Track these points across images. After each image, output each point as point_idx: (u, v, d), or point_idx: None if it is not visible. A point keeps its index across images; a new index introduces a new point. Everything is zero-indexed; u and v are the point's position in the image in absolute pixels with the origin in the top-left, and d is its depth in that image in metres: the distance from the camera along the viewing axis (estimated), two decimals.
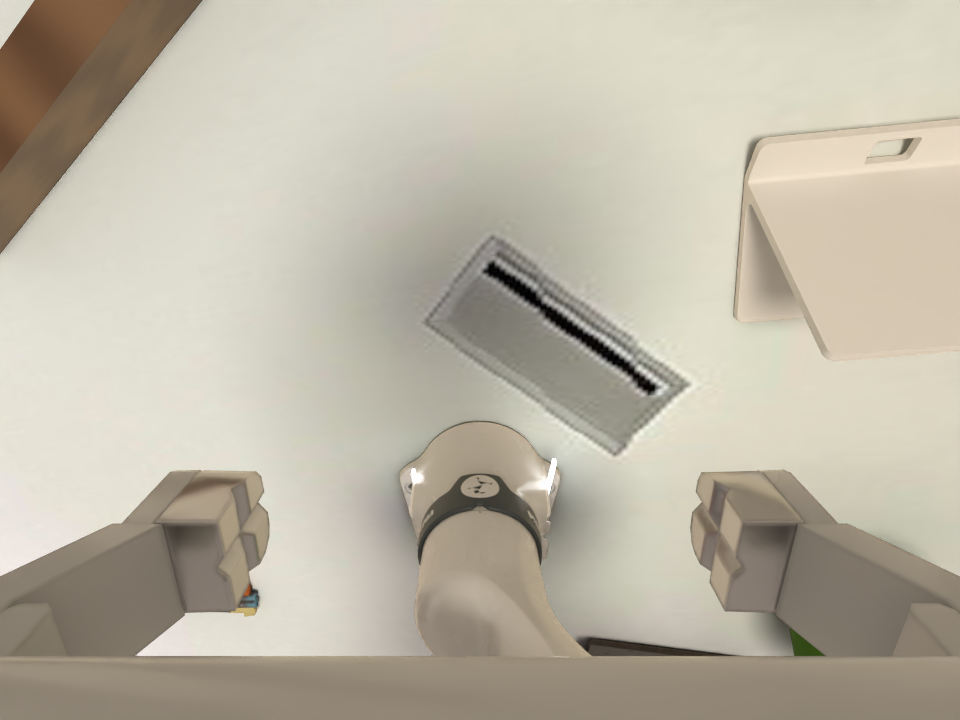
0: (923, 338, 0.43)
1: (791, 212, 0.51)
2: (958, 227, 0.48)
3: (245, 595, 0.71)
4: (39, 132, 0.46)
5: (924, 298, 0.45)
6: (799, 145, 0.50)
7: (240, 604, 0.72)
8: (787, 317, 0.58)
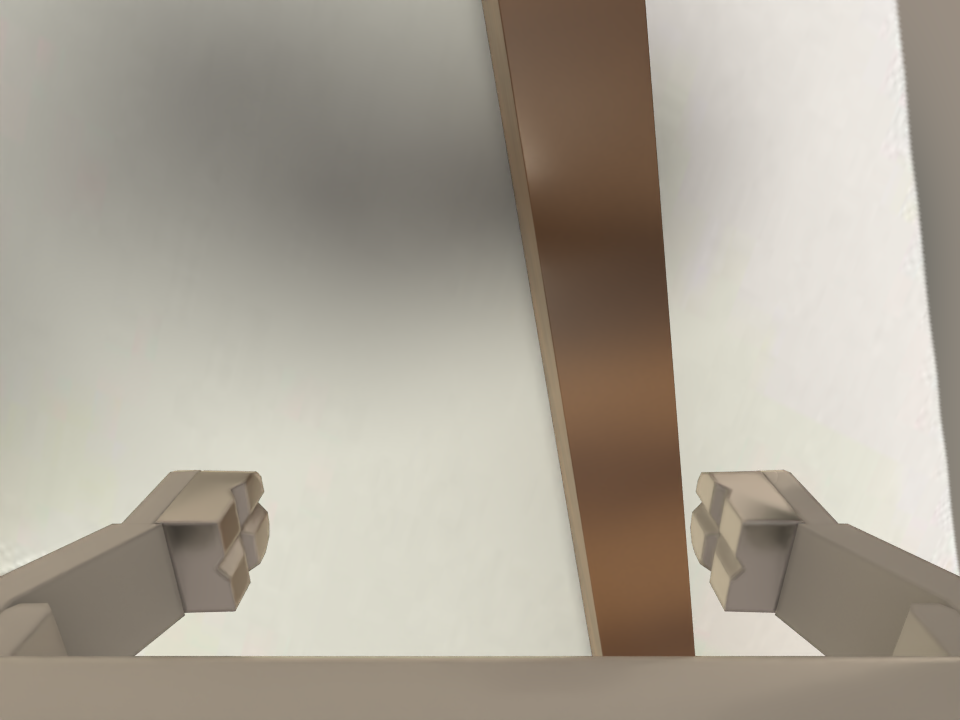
0: None
1: None
2: None
3: None
4: (554, 366, 0.24)
5: None
6: None
7: None
8: None
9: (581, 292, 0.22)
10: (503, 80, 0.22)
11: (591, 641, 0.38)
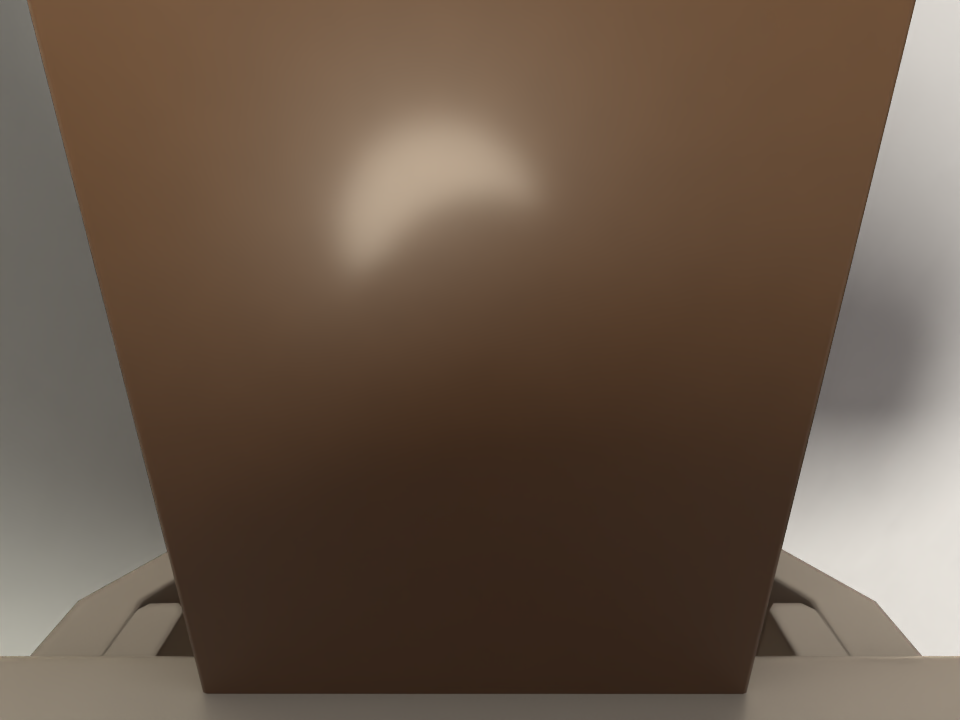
0: None
1: None
2: None
3: None
4: None
5: None
6: None
7: None
8: None
9: None
10: None
11: None
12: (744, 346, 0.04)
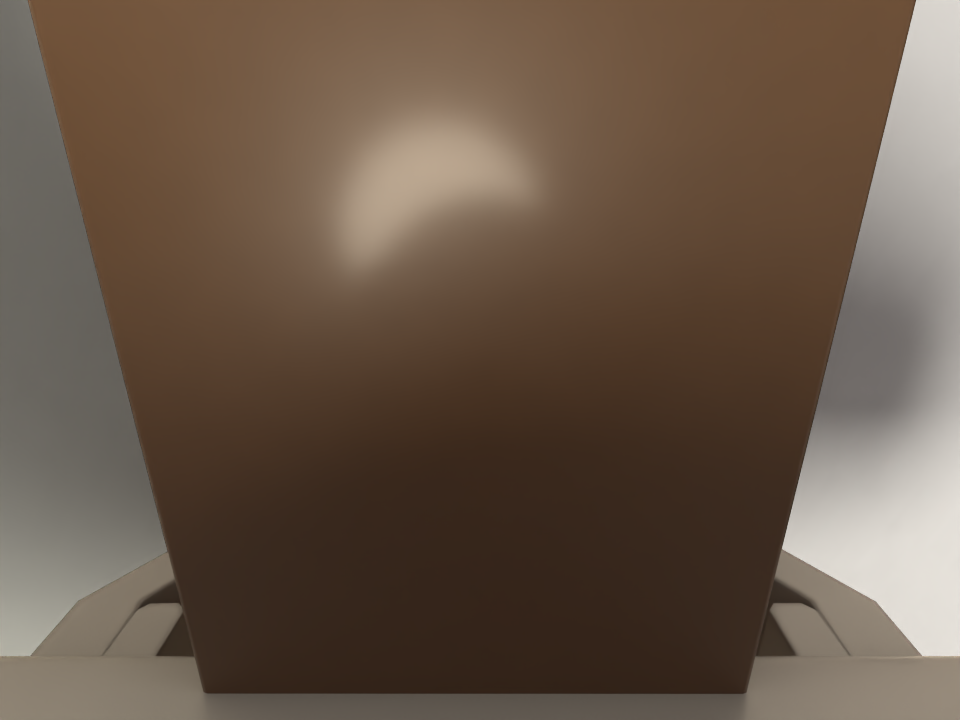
0: None
1: None
2: None
3: None
4: None
5: None
6: None
7: None
8: None
9: None
10: None
11: None
12: (744, 346, 0.04)
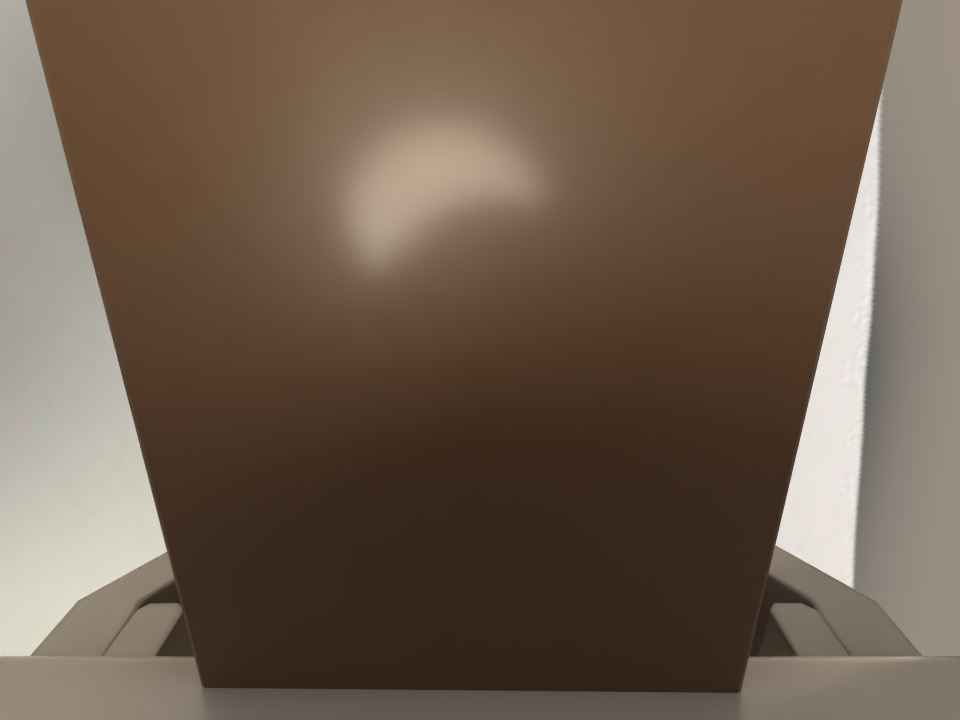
0: None
1: None
2: None
3: None
4: None
5: None
6: None
7: None
8: None
9: None
10: None
11: None
12: (736, 340, 0.04)
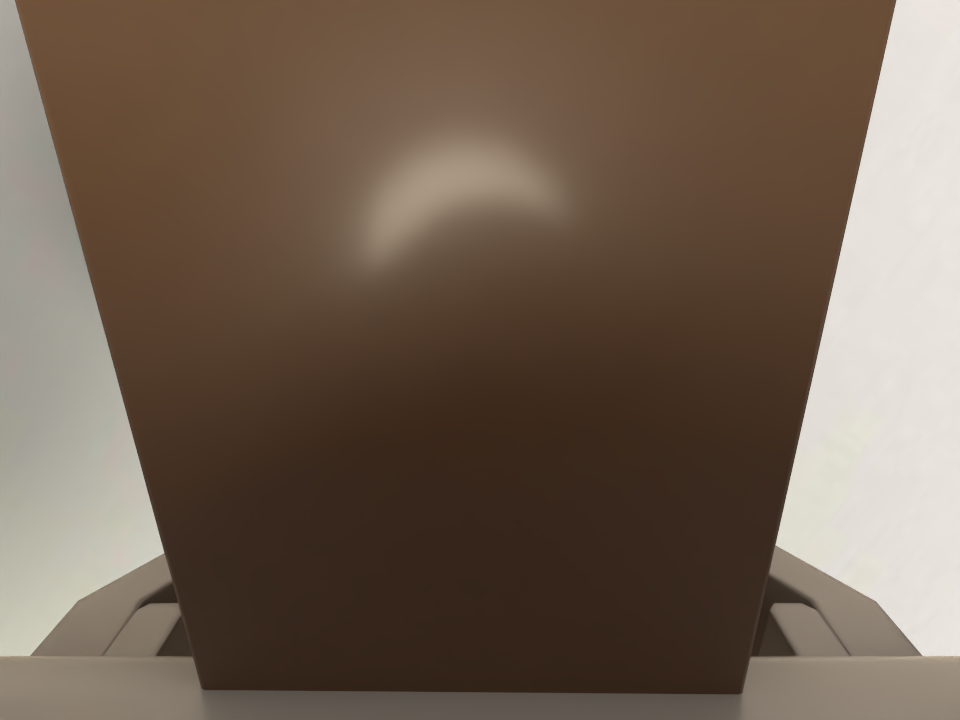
0: None
1: None
2: None
3: None
4: None
5: None
6: None
7: None
8: None
9: None
10: None
11: None
12: (733, 334, 0.04)
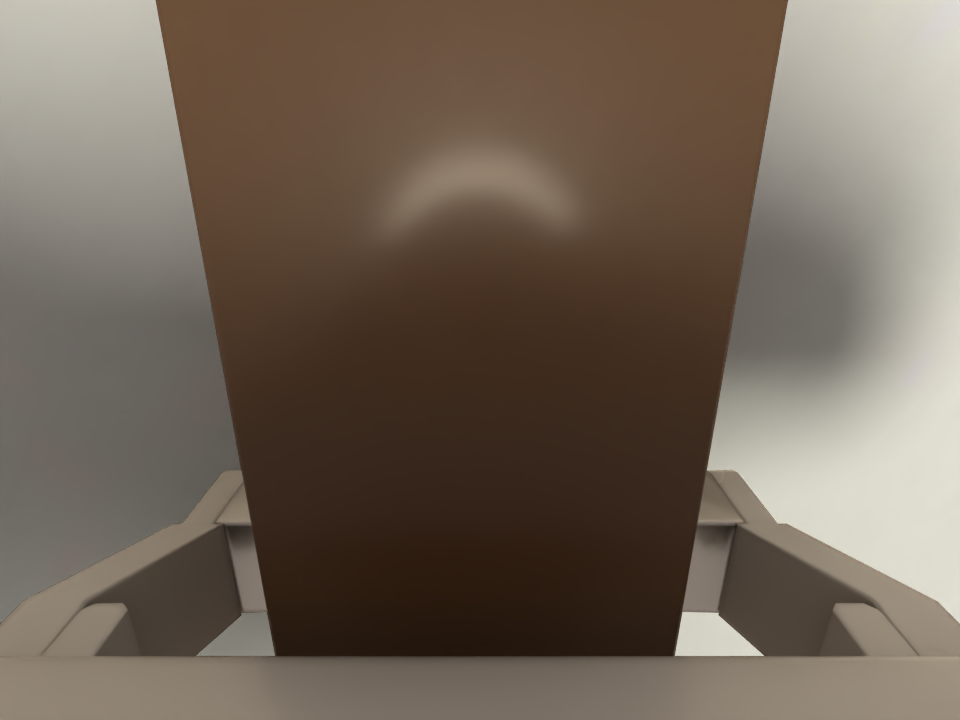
0: None
1: None
2: None
3: None
4: None
5: None
6: None
7: None
8: None
9: None
10: None
11: None
12: (671, 308, 0.05)
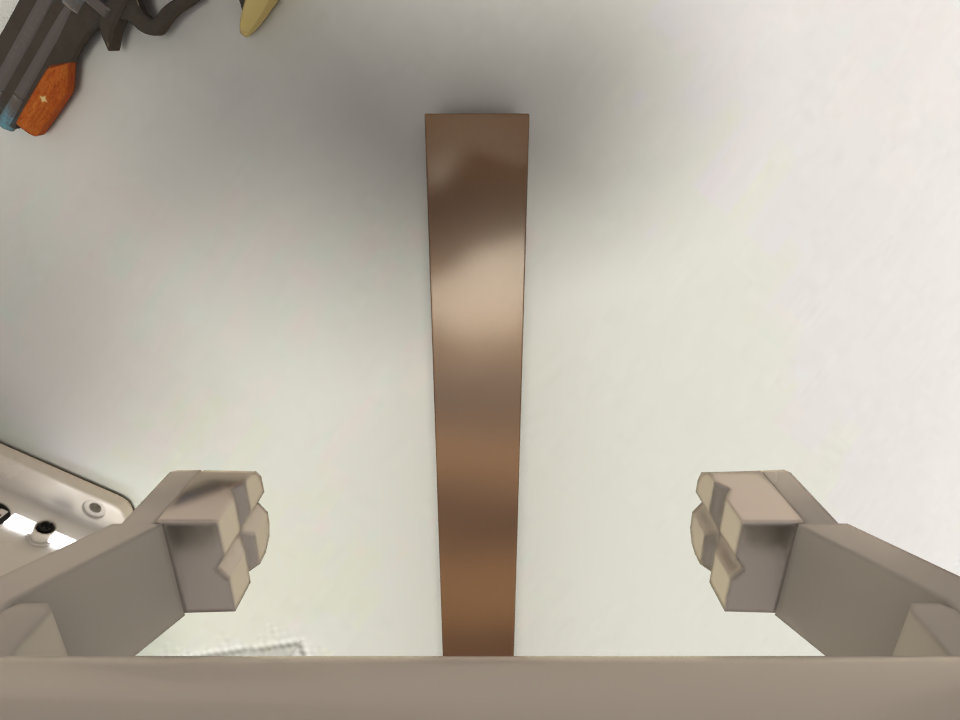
0: None
1: None
2: None
3: (18, 118, 0.32)
4: None
5: None
6: None
7: (0, 89, 0.31)
8: None
9: (459, 387, 0.31)
10: None
11: None
12: (515, 171, 0.27)
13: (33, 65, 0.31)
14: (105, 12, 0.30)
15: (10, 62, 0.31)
